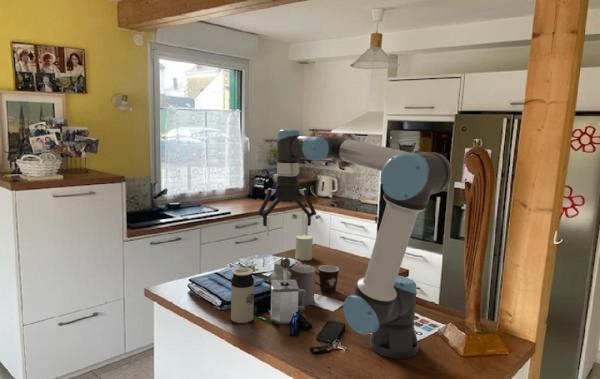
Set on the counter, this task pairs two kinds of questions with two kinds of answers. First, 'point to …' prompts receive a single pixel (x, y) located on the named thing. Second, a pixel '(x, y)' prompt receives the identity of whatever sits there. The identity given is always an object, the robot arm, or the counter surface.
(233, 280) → the travel mug
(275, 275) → the air freshener
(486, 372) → the counter surface
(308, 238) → the can
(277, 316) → the carafe
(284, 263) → the plunger
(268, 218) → the robot arm
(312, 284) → the grey cylinder
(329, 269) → the coffee mug
